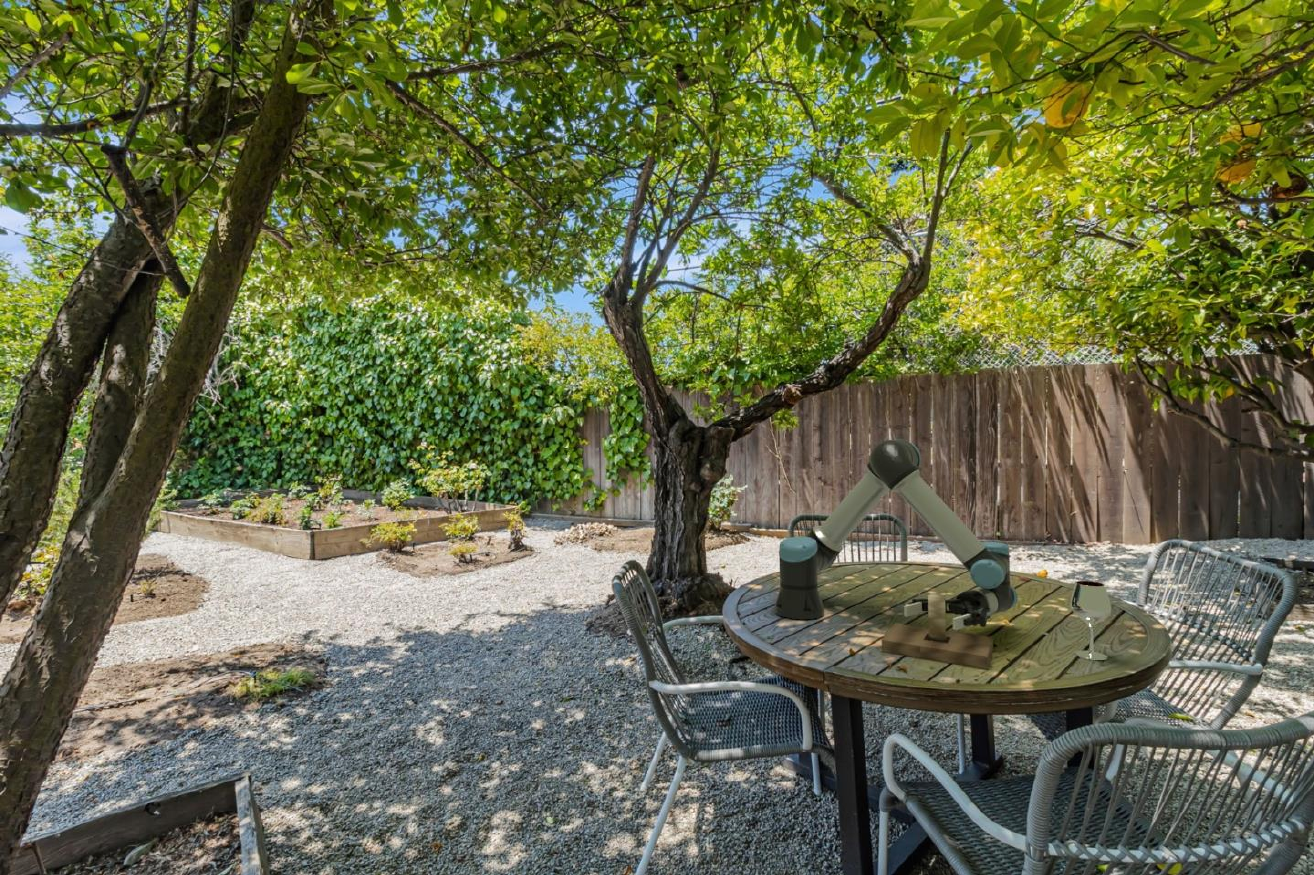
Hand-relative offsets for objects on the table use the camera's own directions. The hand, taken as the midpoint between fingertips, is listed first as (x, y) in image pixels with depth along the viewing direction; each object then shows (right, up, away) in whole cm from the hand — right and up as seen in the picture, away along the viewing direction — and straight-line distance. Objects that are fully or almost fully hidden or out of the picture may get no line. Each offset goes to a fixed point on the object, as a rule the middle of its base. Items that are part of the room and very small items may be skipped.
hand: (928, 617), depth 151 cm
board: (+3, -9, +2) cm, 10 cm away
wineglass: (+38, -8, -5) cm, 39 cm away
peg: (+3, -9, +2) cm, 10 cm away
